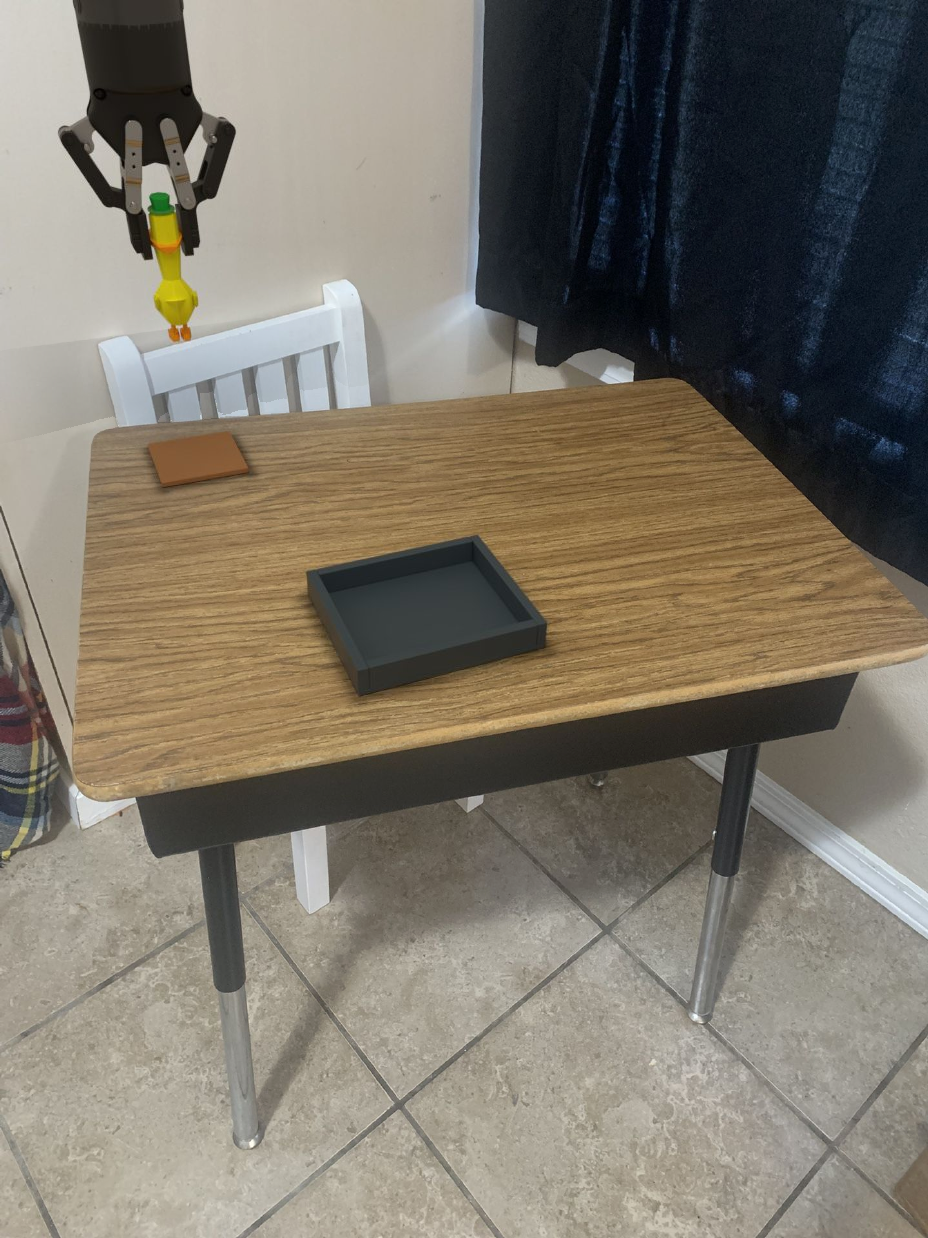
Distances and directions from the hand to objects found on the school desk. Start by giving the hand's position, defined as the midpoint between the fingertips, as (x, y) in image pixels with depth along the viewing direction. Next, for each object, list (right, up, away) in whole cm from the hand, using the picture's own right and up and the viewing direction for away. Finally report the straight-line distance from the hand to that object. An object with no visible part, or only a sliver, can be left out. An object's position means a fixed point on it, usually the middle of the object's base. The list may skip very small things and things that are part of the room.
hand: (167, 254), depth 81 cm
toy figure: (0, -6, +5) cm, 7 cm away
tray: (+22, -31, -6) cm, 38 cm away
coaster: (-1, -15, +12) cm, 20 cm away
